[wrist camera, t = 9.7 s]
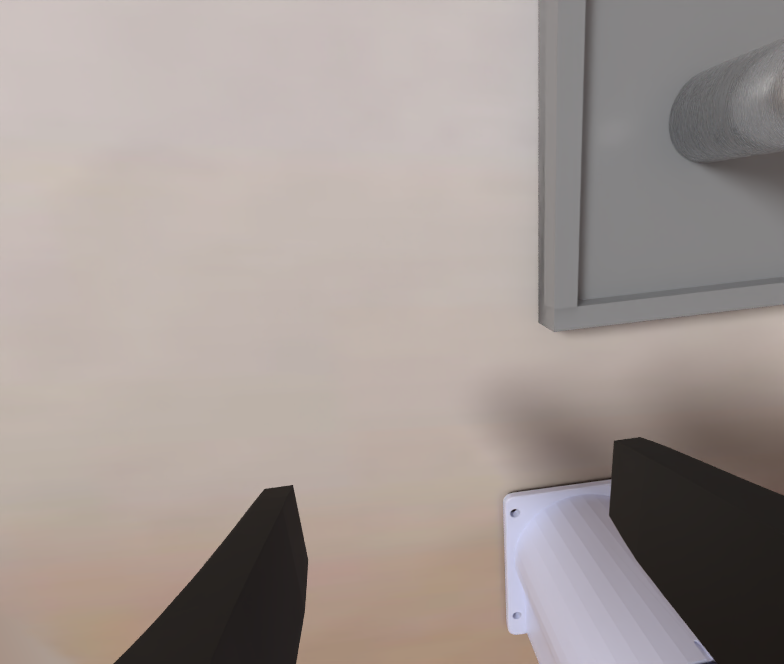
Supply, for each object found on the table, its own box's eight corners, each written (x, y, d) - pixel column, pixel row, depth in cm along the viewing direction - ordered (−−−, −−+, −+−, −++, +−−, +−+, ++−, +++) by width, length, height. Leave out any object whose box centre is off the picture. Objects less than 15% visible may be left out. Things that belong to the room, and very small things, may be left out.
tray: (822, 289, 20) (861, 295, 18) (538, 322, 19) (554, 331, 18) (906, -134, 15) (967, -173, 14) (538, -108, 15) (559, -145, 13)
